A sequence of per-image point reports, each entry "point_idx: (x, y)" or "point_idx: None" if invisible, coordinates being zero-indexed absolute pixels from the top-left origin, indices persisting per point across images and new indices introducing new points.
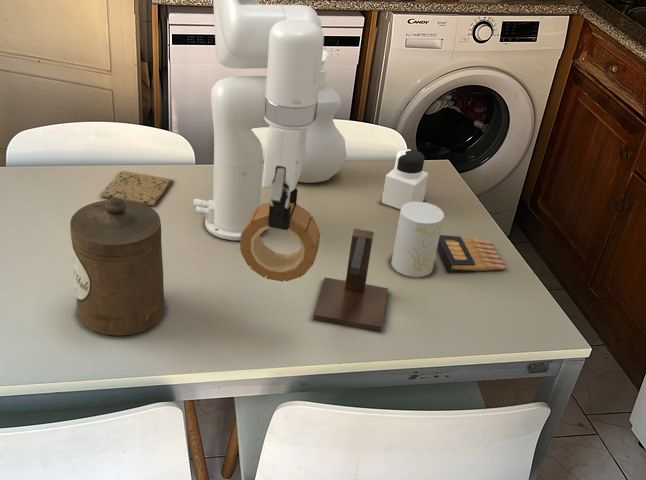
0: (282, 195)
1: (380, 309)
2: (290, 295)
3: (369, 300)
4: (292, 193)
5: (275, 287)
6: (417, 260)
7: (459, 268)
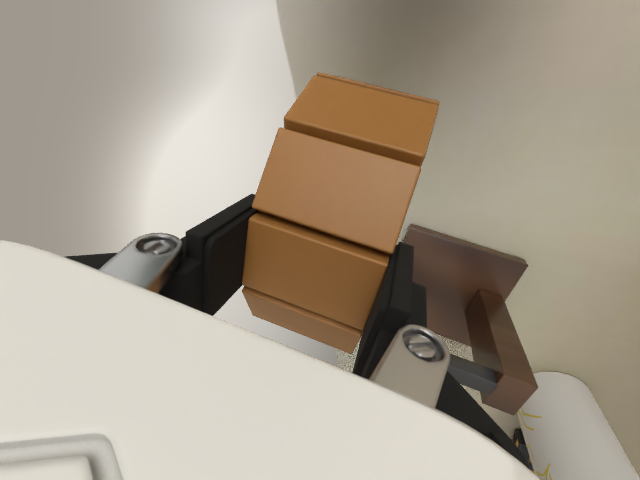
0: (376, 304)
1: None
2: (490, 195)
3: (442, 314)
4: (357, 357)
5: (525, 168)
6: (521, 414)
7: (515, 444)
